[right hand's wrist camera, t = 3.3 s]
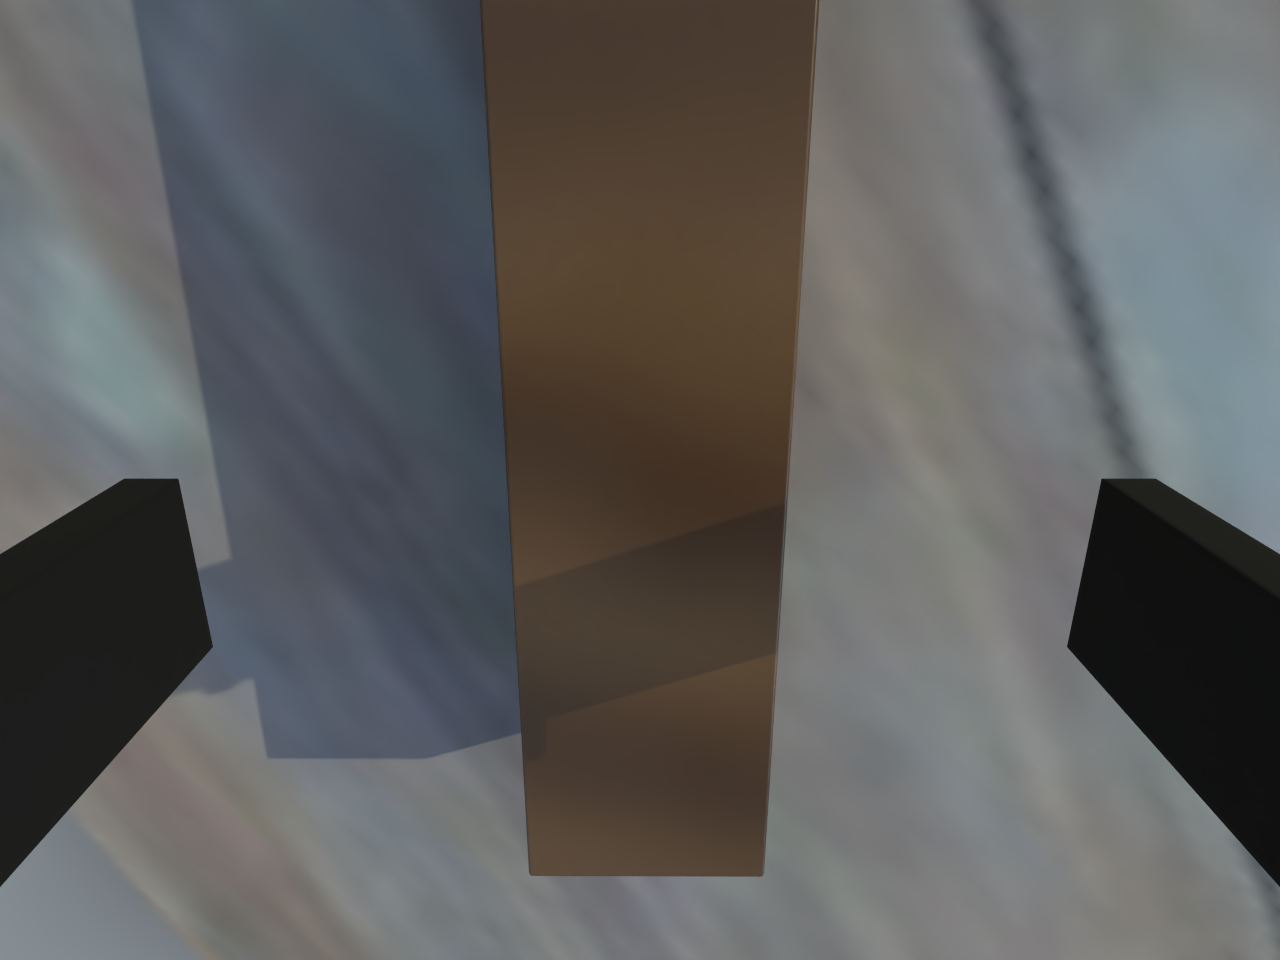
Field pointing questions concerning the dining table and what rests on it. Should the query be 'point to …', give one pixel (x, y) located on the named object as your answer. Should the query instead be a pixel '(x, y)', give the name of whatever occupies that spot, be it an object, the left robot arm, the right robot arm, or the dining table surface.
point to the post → (648, 411)
